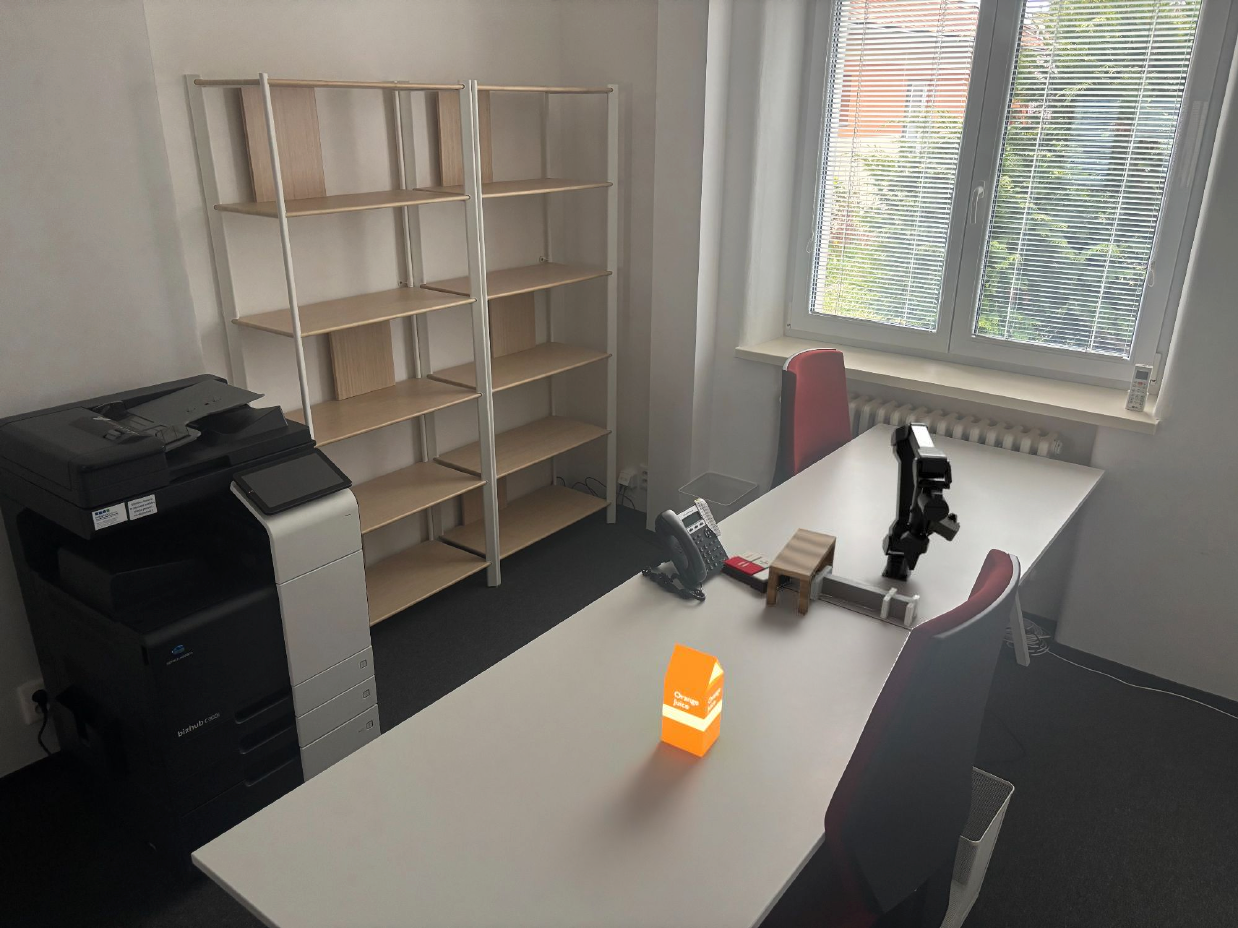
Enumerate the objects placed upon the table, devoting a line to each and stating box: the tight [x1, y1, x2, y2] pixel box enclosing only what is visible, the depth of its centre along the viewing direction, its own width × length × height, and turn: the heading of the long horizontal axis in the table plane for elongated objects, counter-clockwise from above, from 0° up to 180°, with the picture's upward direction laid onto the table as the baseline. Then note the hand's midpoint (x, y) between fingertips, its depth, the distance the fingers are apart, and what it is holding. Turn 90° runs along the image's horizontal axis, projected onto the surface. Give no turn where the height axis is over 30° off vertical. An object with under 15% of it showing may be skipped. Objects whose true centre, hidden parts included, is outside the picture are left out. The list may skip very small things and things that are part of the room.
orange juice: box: [661, 642, 725, 758], centre depth 165 cm, size 8×9×20 cm
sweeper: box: [809, 566, 921, 627], centre depth 216 cm, size 10×24×5 cm, turn 56°
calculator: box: [720, 550, 792, 595], centre depth 229 cm, size 11×4×15 cm
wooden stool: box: [765, 527, 837, 616], centre depth 221 cm, size 24×10×11 cm, turn 152°
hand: (915, 562), depth 213 cm, fingers open, 9 cm apart
